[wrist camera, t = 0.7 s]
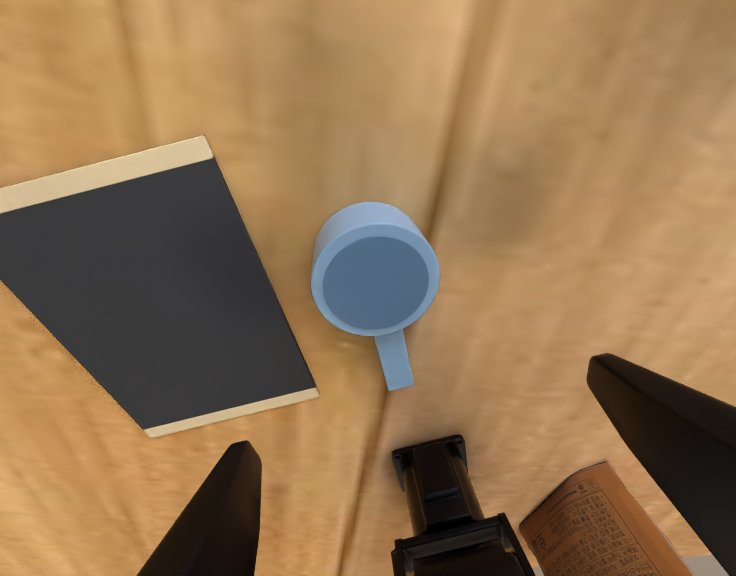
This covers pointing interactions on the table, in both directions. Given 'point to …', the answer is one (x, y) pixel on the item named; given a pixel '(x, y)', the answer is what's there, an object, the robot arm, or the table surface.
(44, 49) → the table surface
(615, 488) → the pancake mix bag
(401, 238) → the scoop
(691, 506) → the robot arm
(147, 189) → the dark gray flat panel
